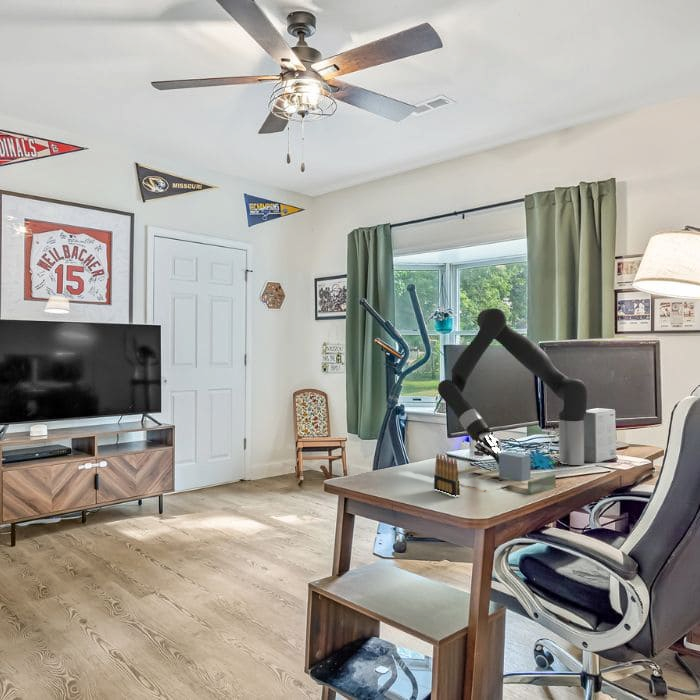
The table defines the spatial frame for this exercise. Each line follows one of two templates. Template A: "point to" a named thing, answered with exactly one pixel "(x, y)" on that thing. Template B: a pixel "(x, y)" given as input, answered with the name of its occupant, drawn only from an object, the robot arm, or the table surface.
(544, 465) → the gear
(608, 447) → the hard drive box
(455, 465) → the ammunition clip
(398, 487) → the table surface
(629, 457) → the table surface
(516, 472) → the slate block
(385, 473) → the table surface
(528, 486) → the trap board
